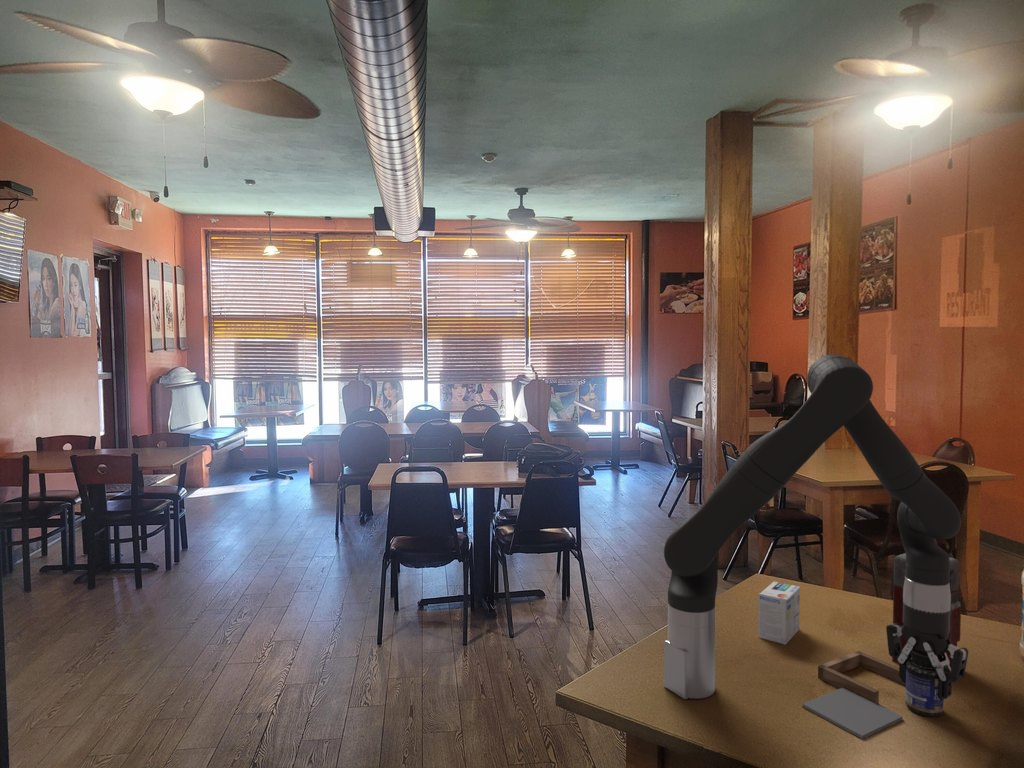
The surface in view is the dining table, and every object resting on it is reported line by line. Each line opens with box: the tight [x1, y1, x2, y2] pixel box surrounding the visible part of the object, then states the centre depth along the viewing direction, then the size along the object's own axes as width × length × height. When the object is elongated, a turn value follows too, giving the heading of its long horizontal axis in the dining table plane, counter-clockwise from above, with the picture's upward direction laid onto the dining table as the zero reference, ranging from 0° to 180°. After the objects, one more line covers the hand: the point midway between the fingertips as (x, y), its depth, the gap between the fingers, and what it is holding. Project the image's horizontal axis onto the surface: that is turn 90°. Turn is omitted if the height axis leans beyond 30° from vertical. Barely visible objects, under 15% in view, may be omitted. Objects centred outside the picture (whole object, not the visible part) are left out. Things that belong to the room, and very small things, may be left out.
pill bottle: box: [904, 650, 945, 718], centre depth 125 cm, size 6×6×11 cm
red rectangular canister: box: [891, 538, 962, 668], centre depth 141 cm, size 9×11×28 cm
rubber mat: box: [802, 688, 903, 740], centre depth 124 cm, size 12×12×1 cm
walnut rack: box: [817, 650, 906, 705], centre depth 135 cm, size 13×12×2 cm
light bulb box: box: [757, 581, 801, 645], centre depth 158 cm, size 11×7×11 cm, turn 141°
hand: (924, 689), depth 125 cm, fingers closed on pill bottle, 6 cm apart
